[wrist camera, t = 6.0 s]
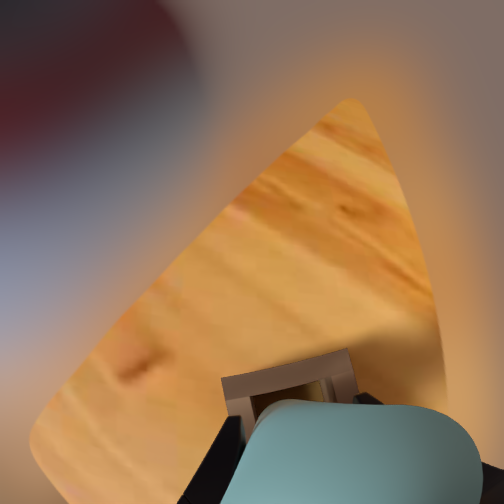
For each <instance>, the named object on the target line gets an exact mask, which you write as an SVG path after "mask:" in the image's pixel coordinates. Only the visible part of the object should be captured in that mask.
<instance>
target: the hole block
mask: <svg viewBox="0 0 504 504" xmlns="http://www.w3.org/2000/svg"><path fill="white" fill-rule="evenodd" d="M318 380H319V382H320V386H321V390H322V394H323V398H324V402H328V403H343V404H352V403H353V397H354V395H355V394H358V393H359V390H358V386H357V383H356V379H355V375H354V371H353V368H352V364H351V360H350V357H349V353H348V349H347V348H346V349H342V350H339V351H336V352H332V353H329V354H325V355H322V356H318V357H314V358H310V359H307V360H303V361H299V362H295V363H291V364H287V365H282V366H278V367H274V368H269V369H265V370H260V371H255V372H250V373H245V374H240V375H234V376H229V377H223V378H221V381H222V386H223V391H224V396H225V401H226V406H227V410H228V415H229V416H232V415H241V417H242V421H243V425H244V429H245V434H246V444H248V441H249V439H250V436H251V434H252V432H253V429H254V427H255V424H256V422H257V420H258V417H257V413H256V408H255V404H254V399H253V396H255V395H260V394H265V393H269V392H274V391H278V390H283V389H287V388H291V387H295V386H299V385H303V384H307V383H311V382H314V381H318Z"/></svg>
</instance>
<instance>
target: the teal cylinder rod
mask: <svg viewBox="0 0 504 504" xmlns="http://www.w3.org/2000/svg"><path fill="white" fill-rule="evenodd" d="M482 485H483V471H482V463H481V459H480V455H479V452H478V450H477V447H476V446H475V443H474V441H473V440H472V438H471V437H470V435H469V434H468V433H467V431H466V430H465V429H464V428H463V427H462V426H461V425H459V424H458V423H457V422H456V421H454V420H453V419H451V418H450V417H448V416H446V415H444V414H442V413H439V412H437V411H435V410H431V409H427V408H423V407H419V406H410V405H365V404H343V403H328V402H316V401H306V400H297V399H284V400H280V401H277V402H274V403H273V404H271V405H269V406H268V407H267V408H266V409H264V410H263V412H262V413H261V414H260V416H259V417H258V420H257V422H256V424H255V427H254V429H253V432H252V434H251V436H250V439H249V441H248V444H247V446H246V448H245V451H244V453H243V455H242V457H241V460H240V462H239V464H238V467H237V469H236V471H235V473H234V475H233V478H232V480H231V482H230V484H229V486H228V488H227V491H226V493H225V495H224V497H223V499H222V501H221V503H220V504H479V503H480V498H481V493H482Z"/></svg>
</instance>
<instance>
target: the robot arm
mask: <svg viewBox="0 0 504 504" xmlns="http://www.w3.org/2000/svg"><path fill="white" fill-rule="evenodd" d="M352 404H365V405H385V404H383V403H382V402H380V401H379V400H377V399H376V398H374V397H373V396H371V395H370V394H369V393H367V392H362V393H358V394H355V395H354V397H353V403H352ZM246 446H247V444H246V434H245V429H244V425H243V421H242V417H241V415H232V416H228V417H227V419H226V420H225V422H224V424H223V426H222V428H221V429H220V431H219V433H218V435H217V437H216V438H215V440H214V442H213V444H212V445H211V447H210V449H209V451H208V452H207V454H206V456H205V458H204V459H203V461H202V463H201V464H200V466H199V468H198V469H197V471H196V473H195V475H194V476H193V478H192V480H191V481H190V483H189V484H188V486H187V488H186V489H185V491H184V493H183V494H184V495H182V496H181V497H180V499H179V501H178V502H177V504H220V503H221V501H222V499H223V497H224V495H225V493H226V491H227V488H228V486H229V484H230V482H231V480H232V478H233V475H234V473H235V471H236V469H237V467H238V464H239V462H240V460H241V457H242V455H243V453H244V451H245V448H246ZM481 463H482V471H483V485H482V493H481V498H480V503H479V504H504V470H502V469H499V468H496V467H494V466H491V465H489V464H486V463H484V462H481Z"/></svg>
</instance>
